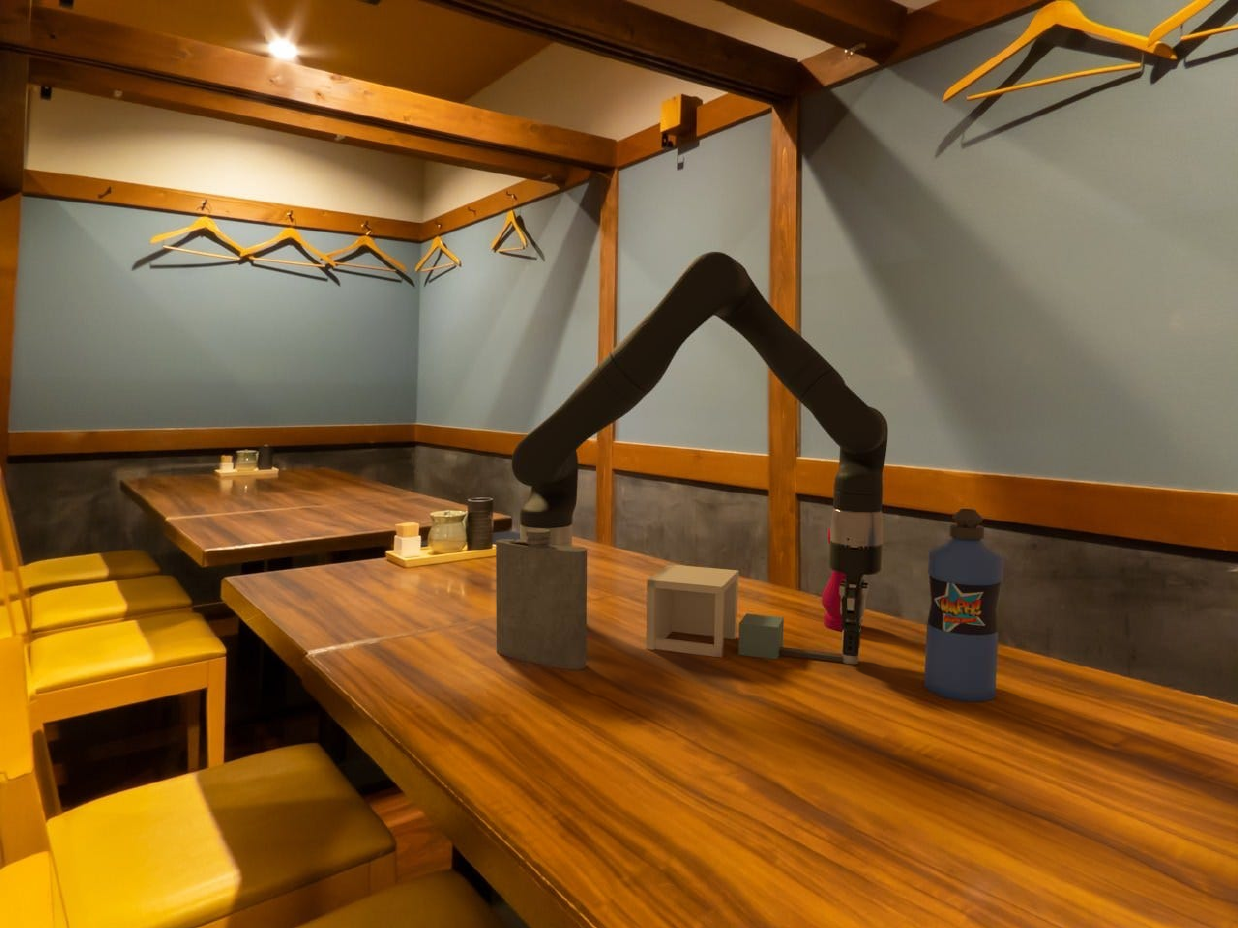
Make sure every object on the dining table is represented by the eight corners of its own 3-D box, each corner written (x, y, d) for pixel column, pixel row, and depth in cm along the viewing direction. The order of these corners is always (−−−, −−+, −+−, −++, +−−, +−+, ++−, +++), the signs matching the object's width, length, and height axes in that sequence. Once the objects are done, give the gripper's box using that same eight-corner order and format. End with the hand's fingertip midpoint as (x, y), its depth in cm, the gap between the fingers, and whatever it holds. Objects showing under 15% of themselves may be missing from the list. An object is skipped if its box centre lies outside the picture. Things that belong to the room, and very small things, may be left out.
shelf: (646, 648, 122) (647, 579, 121) (668, 628, 133) (669, 564, 132) (720, 658, 117) (722, 586, 116) (737, 636, 129) (738, 570, 128)
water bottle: (992, 707, 100) (1002, 516, 97) (916, 692, 104) (924, 510, 102) (1000, 685, 107) (1009, 508, 105) (929, 672, 112) (937, 503, 110)
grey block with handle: (738, 654, 119) (739, 604, 119) (745, 643, 125) (746, 595, 124) (856, 669, 113) (858, 616, 113) (859, 656, 119) (860, 605, 118)
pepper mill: (865, 633, 131) (870, 517, 129) (822, 630, 132) (825, 515, 131) (861, 621, 138) (865, 511, 136) (819, 618, 139) (823, 509, 138)
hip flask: (590, 664, 114) (591, 531, 113) (575, 672, 111) (576, 536, 109) (505, 646, 122) (504, 522, 120) (488, 654, 118) (488, 526, 117)
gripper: (834, 530, 123) (829, 635, 124) (825, 545, 110) (820, 663, 111) (883, 533, 120) (878, 641, 122) (880, 549, 107) (875, 670, 108)
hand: (851, 651), depth 116 cm, fingers closed
